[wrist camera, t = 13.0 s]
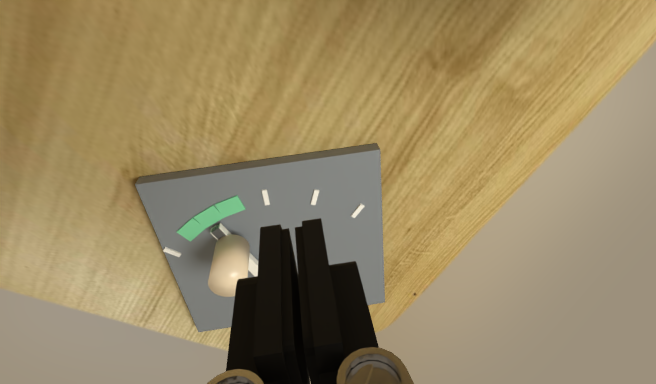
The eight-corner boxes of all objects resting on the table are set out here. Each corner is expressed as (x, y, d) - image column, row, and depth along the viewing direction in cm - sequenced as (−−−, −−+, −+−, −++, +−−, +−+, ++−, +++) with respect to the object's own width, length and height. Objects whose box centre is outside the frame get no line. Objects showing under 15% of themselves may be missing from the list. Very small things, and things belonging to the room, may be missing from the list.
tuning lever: (307, 298, 48) (311, 340, 42) (283, 310, 48) (283, 353, 43) (229, 216, 40) (223, 255, 35) (202, 232, 41) (191, 273, 35)
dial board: (376, 143, 39) (380, 150, 38) (382, 293, 51) (385, 303, 50) (139, 177, 38) (134, 185, 37) (200, 322, 50) (198, 333, 49)
